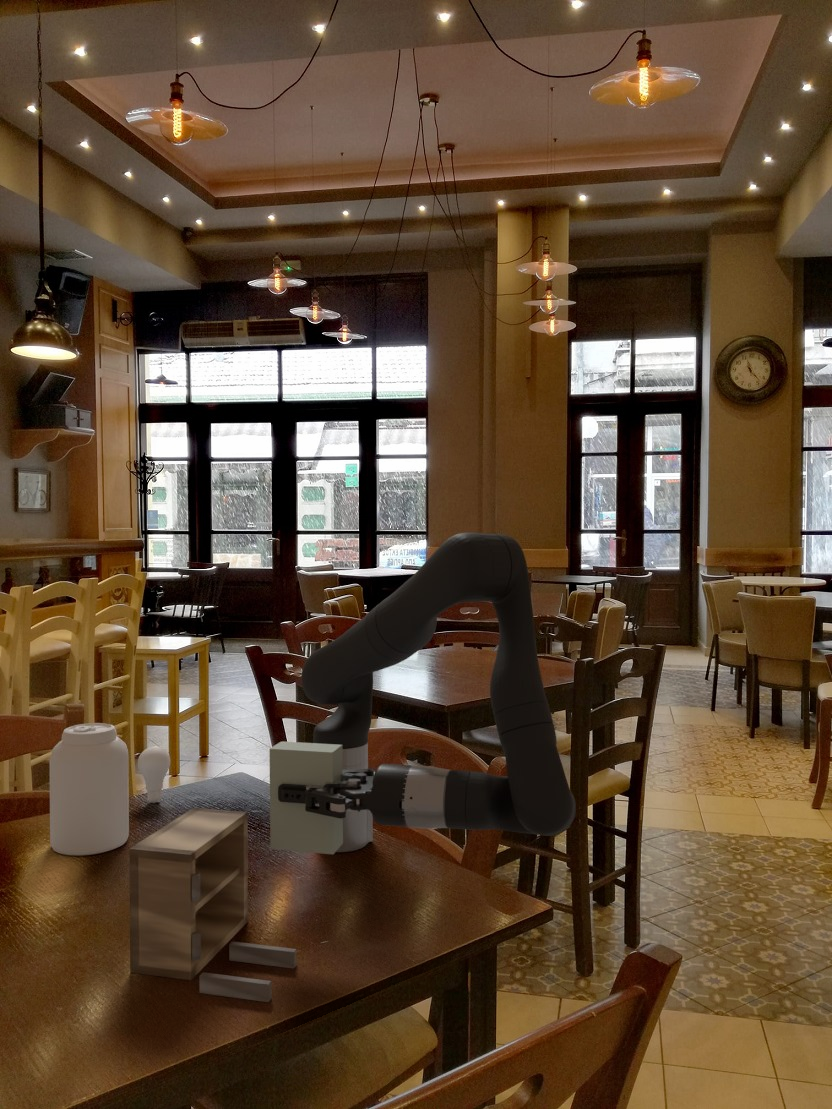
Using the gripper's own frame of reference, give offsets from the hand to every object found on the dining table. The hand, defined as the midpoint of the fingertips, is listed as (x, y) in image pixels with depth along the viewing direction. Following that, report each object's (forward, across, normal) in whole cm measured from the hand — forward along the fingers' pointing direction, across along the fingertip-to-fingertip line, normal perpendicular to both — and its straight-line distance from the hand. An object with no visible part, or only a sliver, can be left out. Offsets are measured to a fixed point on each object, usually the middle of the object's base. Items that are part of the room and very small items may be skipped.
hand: (286, 787), depth 114 cm
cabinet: (+6, +6, +20) cm, 21 cm away
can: (+45, -24, +20) cm, 55 cm away
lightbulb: (+46, -47, +20) cm, 69 cm away
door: (-3, 0, +8) cm, 8 cm away
